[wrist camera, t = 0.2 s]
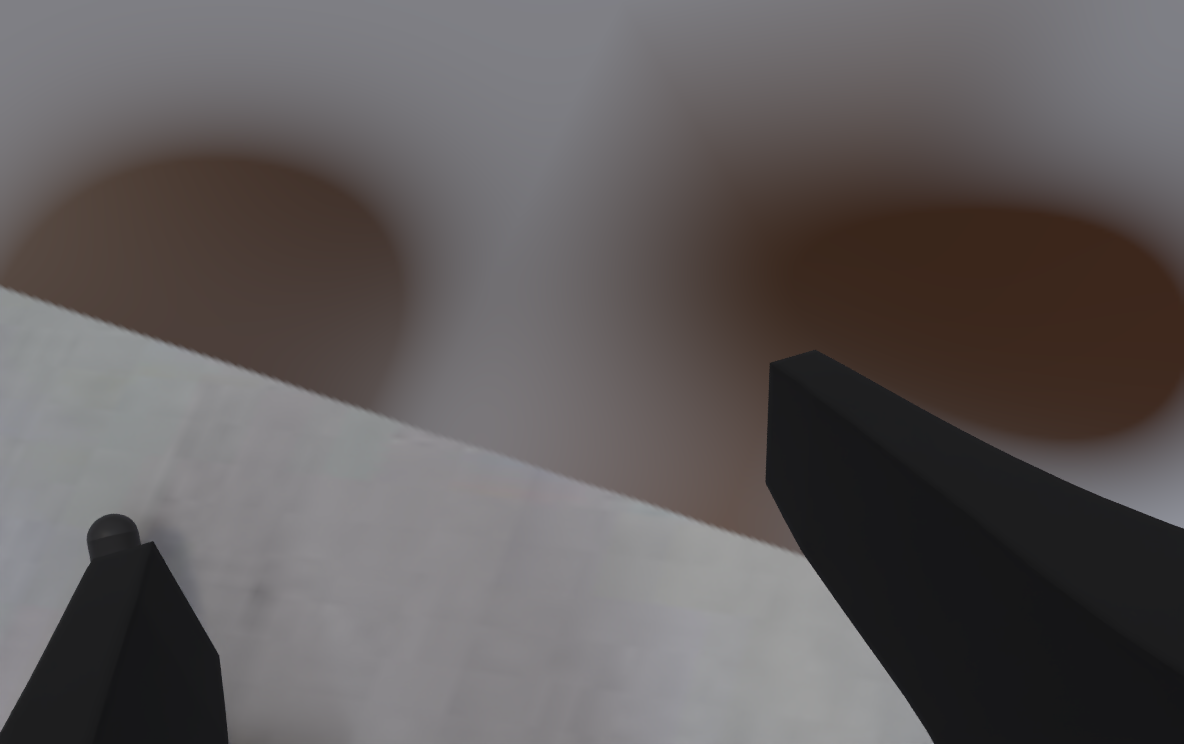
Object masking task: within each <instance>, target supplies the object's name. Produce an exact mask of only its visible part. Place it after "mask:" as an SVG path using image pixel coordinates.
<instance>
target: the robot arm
mask: <svg viewBox="0 0 1184 744" xmlns="http://www.w3.org/2000/svg"><path fill="white" fill-rule="evenodd" d="M767 430H768V431H767V456H766V485H767V487H768V488H769V490H770V492H771V494H772V496H773V498H774V500H775V502H776V504H777V506H778V508H779V510H780V512H781V514H782V516H783V518H784V520H785V521H786V523H787V525H788V527H789V529H790V531H791V532H792V534H793V536H794V538H795V540H796V542H797V543H798V545H799V547H800V549H801V551H802V552H803V554H804V555H805V557H806V558H807V560H808V561H809V562H810V564H811V565H812V567H813V568H814V570H815V571H816V573H817V574H818V575H819V577H820V578H821V580H822V581H823V583H824V584H825V585H826V587H827V588H828V590H829V591H830V593H831V594H832V595H833V597H834V598H835V600H836V601H837V603H838V604H839V605H840V607H841V608H842V610H843V611H844V612H845V614H846V615H847V617H848V618H849V619H850V621H851V622H852V624H853V625H854V626H855V628H856V629H857V631H858V632H859V633H860V635H861V636H862V638H863V639H864V640H865V642H866V643H867V645H868V646H869V647H870V649H871V650H872V652H873V653H874V654H875V656H876V657H877V659H878V660H879V661H880V663H881V664H882V666H883V667H884V668H885V670H886V671H887V673H888V674H889V675H890V677H891V678H892V680H893V681H894V682H895V684H896V685H897V687H898V688H899V689H900V691H901V692H902V694H903V695H904V696H905V698H906V699H907V701H908V703H909V704H910V706H911V707H912V709H913V710H914V712H915V713H916V715H917V716H918V718H919V719H920V721H921V722H922V724H923V726H924V727H925V729H926V730H927V732H928V734H929V735H930V737H931V739H932V741H933V742H934V744H1184V529H1183V528H1180V527H1178V526H1174V525H1172V524H1169V523H1167V522H1164V521H1162V520H1159V519H1156V518H1154V517H1151V516H1149V515H1146V514H1143V513H1141V512H1139V511H1136V510H1134V509H1131V508H1129V507H1126V506H1124V505H1121V504H1119V503H1116V502H1113V501H1111V500H1108V499H1106V498H1103V497H1101V496H1098V495H1096V494H1094V493H1092V492H1089V491H1087V490H1085V489H1082V488H1080V487H1078V486H1075V485H1073V484H1071V483H1069V482H1066V481H1064V480H1062V479H1060V478H1058V477H1056V476H1054V475H1052V474H1049V473H1047V472H1045V471H1043V470H1041V469H1039V468H1037V467H1034V466H1032V465H1030V464H1028V463H1026V462H1024V461H1022V460H1019V459H1017V458H1015V457H1013V456H1011V455H1009V454H1007V453H1005V452H1003V451H1001V450H999V449H997V448H995V447H993V446H991V445H989V444H987V443H985V442H983V441H981V440H979V439H978V438H976V437H974V436H972V435H970V434H968V433H966V432H964V431H962V430H960V429H958V428H957V427H955V426H953V425H951V424H949V423H947V422H945V421H943V420H941V419H940V418H938V417H936V416H934V415H932V414H930V413H929V412H927V411H925V410H923V409H921V408H920V407H918V406H916V405H914V404H912V403H910V402H909V401H907V400H905V399H903V398H902V397H900V396H898V395H896V394H895V393H893V392H891V391H889V390H887V389H886V388H884V387H882V386H880V385H878V384H877V383H875V382H873V381H871V380H870V379H868V378H866V377H864V376H862V375H861V374H859V373H857V372H855V371H854V370H852V369H850V368H848V367H846V366H845V365H843V364H841V363H839V362H837V361H835V360H834V359H832V358H830V357H828V356H826V355H824V354H822V353H820V352H819V351H816V350H813V351H809V352H806V353H803V354H799V355H796V356H792V357H789V358H785V359H782V360H778V361H775V362H772V363H770V373H769V401H768V428H767ZM0 744H228V733H227V722H226V712H225V702H224V693H223V685H222V676H221V667H220V659H219V655H218V653H217V651H216V649H215V648H214V646H213V644H212V642H211V641H210V639H209V637H208V636H207V634H206V632H205V630H204V629H203V627H202V625H201V623H200V622H199V620H198V618H197V616H196V615H195V613H194V611H193V610H192V608H191V606H190V604H189V603H188V601H187V599H186V597H185V596H184V594H183V592H182V591H181V589H180V587H179V585H178V584H177V582H176V580H175V578H174V577H173V575H172V573H171V571H170V570H169V568H168V566H167V565H166V563H165V561H164V559H163V558H162V556H161V554H160V552H159V551H158V549H157V547H156V545H155V544H154V542H149V543H146V544H142V545H139V546H136V547H132V548H129V549H125V550H122V551H118V552H115V553H111V554H108V555H104V556H101V557H97V558H94V559H93V560H92V561H91V563H90V565H89V566H88V568H87V569H86V571H85V573H84V575H83V577H82V579H81V581H80V583H79V585H78V586H77V588H76V590H75V592H74V594H73V596H72V598H71V600H70V602H69V604H68V606H67V608H66V610H65V612H64V614H63V616H62V618H61V620H60V622H59V624H58V626H57V628H56V630H55V631H54V633H53V635H52V637H51V639H50V641H49V643H48V645H47V647H46V649H45V651H44V653H43V655H42V657H41V658H40V660H39V662H38V664H37V666H36V668H35V670H34V672H33V674H32V676H31V678H30V679H29V681H28V683H27V685H26V687H25V689H24V691H23V692H22V694H21V696H20V698H19V700H18V701H17V703H16V705H15V707H14V709H13V710H12V712H11V714H10V716H9V718H8V720H7V721H6V723H5V725H4V727H3V729H2V730H1V732H0Z"/></svg>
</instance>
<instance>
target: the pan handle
mask: <svg viewBox="0 0 1184 744" xmlns="http://www.w3.org/2000/svg"><path fill="white" fill-rule="evenodd" d="M87 545H88V550H89V555H90V561H92V560H93V559H94V558H97V557H101V556H104V555H108V554H111V553H115V552H118V551H122V550H125V549H129V548H132V547H136V546H139V545H141V542H140V537H139V532H138V529H137V526H136V525H135V523H134V522H133V521H132V520H131V519H130V518H128V517H126V516H124V515H120V514H109V515H105V516H103V517H101V518H99V519H98V520H96V521H95V522H94V523H93V524H92V525H91V527H90V529H89V531H88V534H87Z"/></svg>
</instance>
